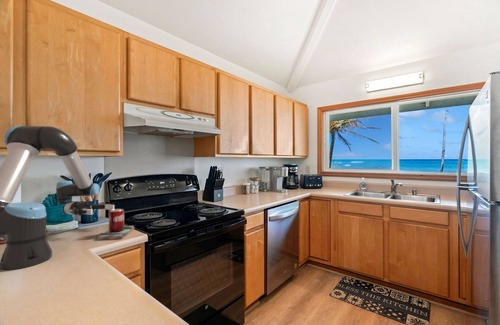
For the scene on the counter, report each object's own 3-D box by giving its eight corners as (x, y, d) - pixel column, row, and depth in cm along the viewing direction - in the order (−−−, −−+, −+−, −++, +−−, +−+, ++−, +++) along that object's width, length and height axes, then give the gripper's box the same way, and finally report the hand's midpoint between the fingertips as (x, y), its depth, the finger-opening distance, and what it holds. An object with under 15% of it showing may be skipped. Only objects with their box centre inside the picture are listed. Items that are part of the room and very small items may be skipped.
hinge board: (96, 240, 117) (96, 235, 117) (112, 229, 134) (112, 225, 134) (121, 239, 118) (121, 234, 118) (134, 228, 136) (134, 224, 136)
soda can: (127, 229, 130) (126, 208, 129) (118, 234, 122) (118, 211, 122) (115, 229, 130) (114, 208, 130) (105, 233, 123) (105, 211, 123)
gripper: (95, 210, 148) (121, 211, 141) (52, 219, 124) (81, 221, 118) (95, 198, 148) (121, 199, 141) (52, 205, 124) (81, 207, 118)
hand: (103, 209), depth 130 cm, fingers open, 13 cm apart
